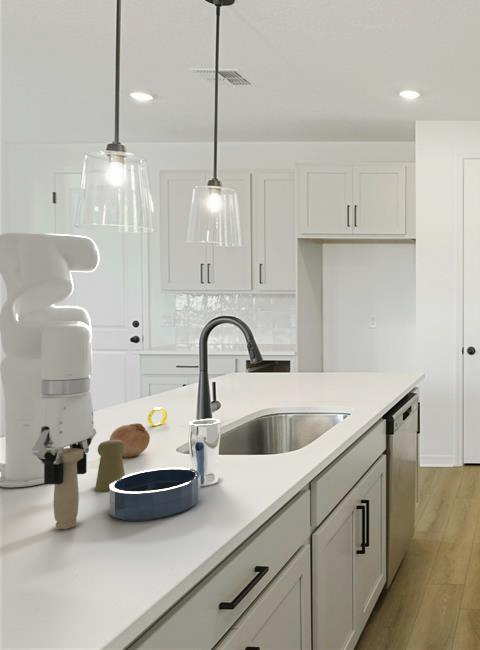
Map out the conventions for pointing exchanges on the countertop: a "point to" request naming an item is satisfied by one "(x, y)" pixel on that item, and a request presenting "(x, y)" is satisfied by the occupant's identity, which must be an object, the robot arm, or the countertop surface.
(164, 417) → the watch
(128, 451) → the onion
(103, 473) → the olive tapered shaker
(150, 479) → the bowl
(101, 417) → the countertop surface
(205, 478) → the beer glass
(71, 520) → the handle
